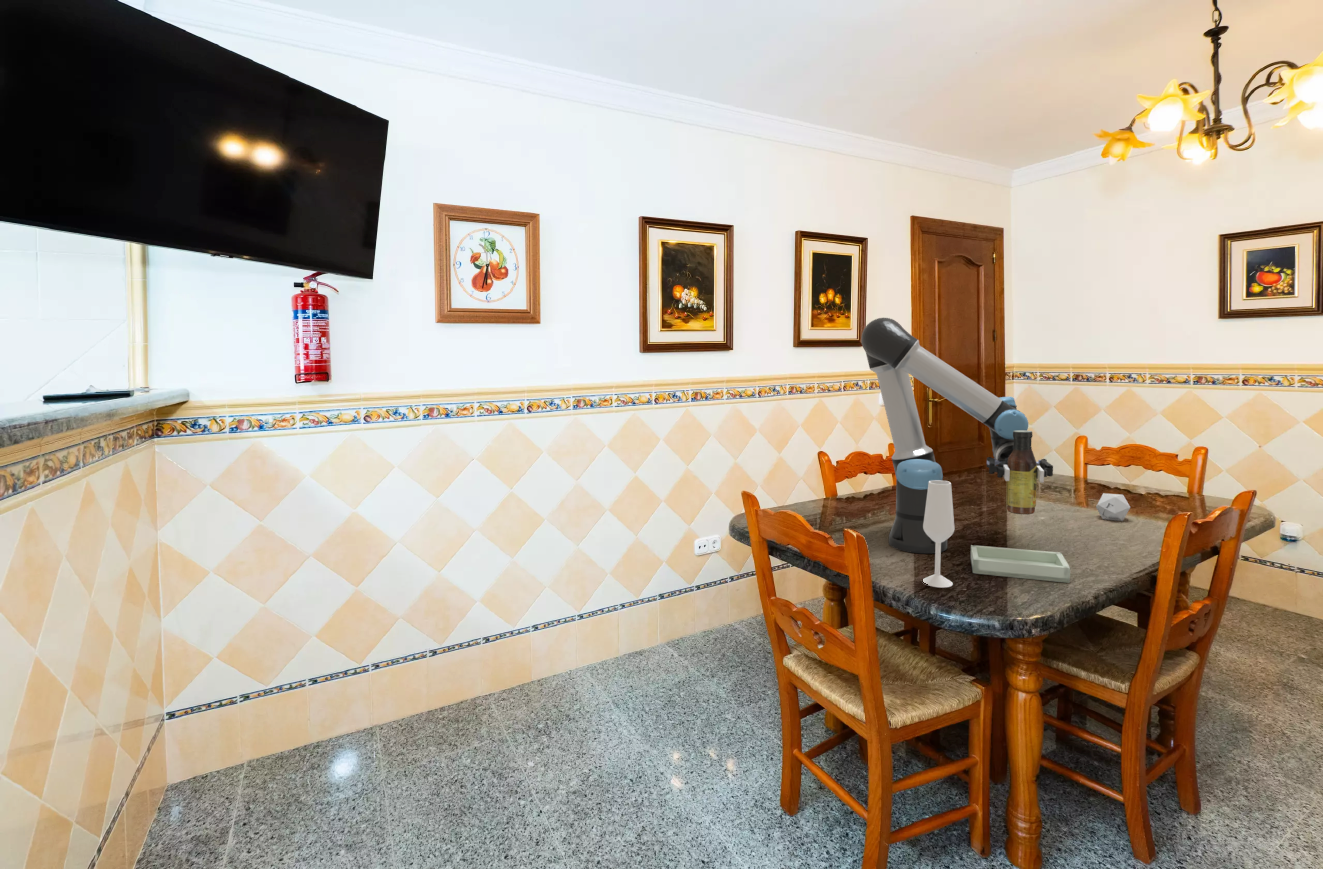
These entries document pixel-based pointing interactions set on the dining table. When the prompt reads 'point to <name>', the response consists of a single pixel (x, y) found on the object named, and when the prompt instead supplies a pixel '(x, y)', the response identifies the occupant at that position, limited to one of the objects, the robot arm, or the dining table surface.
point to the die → (1113, 507)
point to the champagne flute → (938, 524)
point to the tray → (1020, 563)
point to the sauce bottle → (1022, 475)
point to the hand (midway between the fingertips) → (1024, 475)
